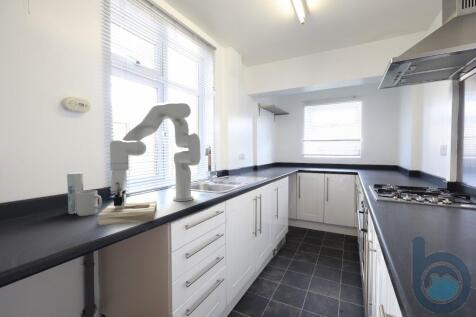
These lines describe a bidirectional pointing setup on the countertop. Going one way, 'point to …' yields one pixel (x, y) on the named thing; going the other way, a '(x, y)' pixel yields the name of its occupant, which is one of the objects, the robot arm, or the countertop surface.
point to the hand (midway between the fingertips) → (120, 203)
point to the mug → (88, 202)
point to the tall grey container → (74, 189)
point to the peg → (122, 202)
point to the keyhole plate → (128, 213)
